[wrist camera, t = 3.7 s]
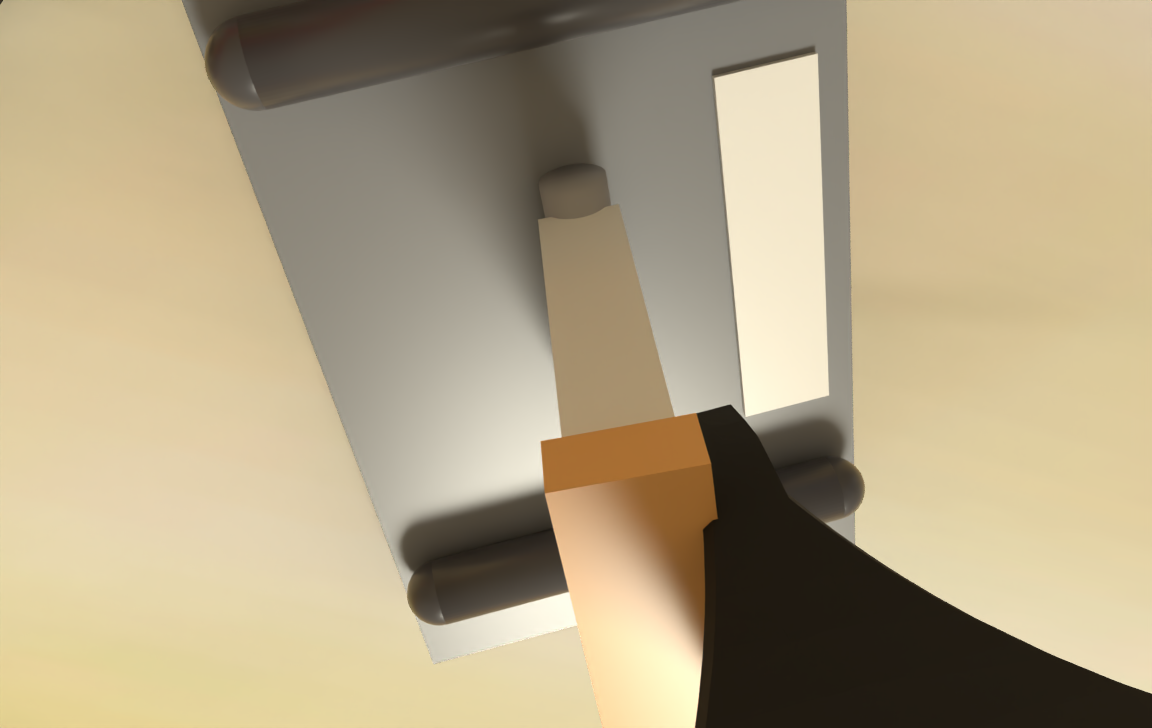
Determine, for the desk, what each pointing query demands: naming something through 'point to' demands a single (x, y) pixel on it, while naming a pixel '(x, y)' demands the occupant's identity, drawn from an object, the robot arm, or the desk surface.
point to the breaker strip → (513, 250)
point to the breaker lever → (621, 468)
